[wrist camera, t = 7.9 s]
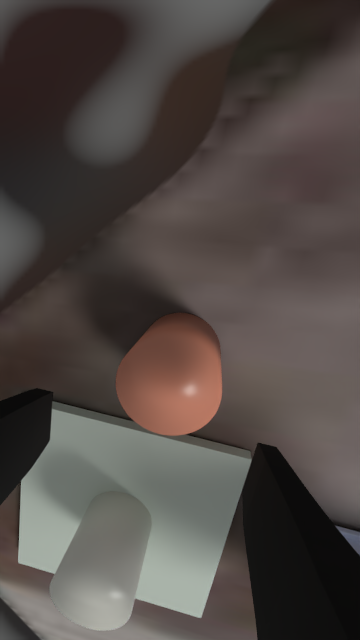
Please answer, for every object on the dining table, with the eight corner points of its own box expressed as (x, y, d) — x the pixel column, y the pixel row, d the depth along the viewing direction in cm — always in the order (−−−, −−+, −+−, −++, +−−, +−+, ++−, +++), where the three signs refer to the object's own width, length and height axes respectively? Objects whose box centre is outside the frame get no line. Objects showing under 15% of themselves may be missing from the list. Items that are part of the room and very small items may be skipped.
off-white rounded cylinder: (162, 511, 20) (145, 594, 15) (136, 553, 21) (113, 642, 16) (101, 480, 20) (64, 554, 15) (79, 524, 21) (39, 605, 16)
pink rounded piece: (228, 322, 17) (233, 352, 12) (211, 393, 18) (209, 446, 13) (149, 305, 17) (122, 327, 12) (137, 376, 18) (110, 421, 13)
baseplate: (250, 451, 18) (251, 459, 18) (201, 605, 23) (200, 618, 22) (31, 395, 20) (23, 401, 19) (24, 552, 24) (18, 562, 23)
